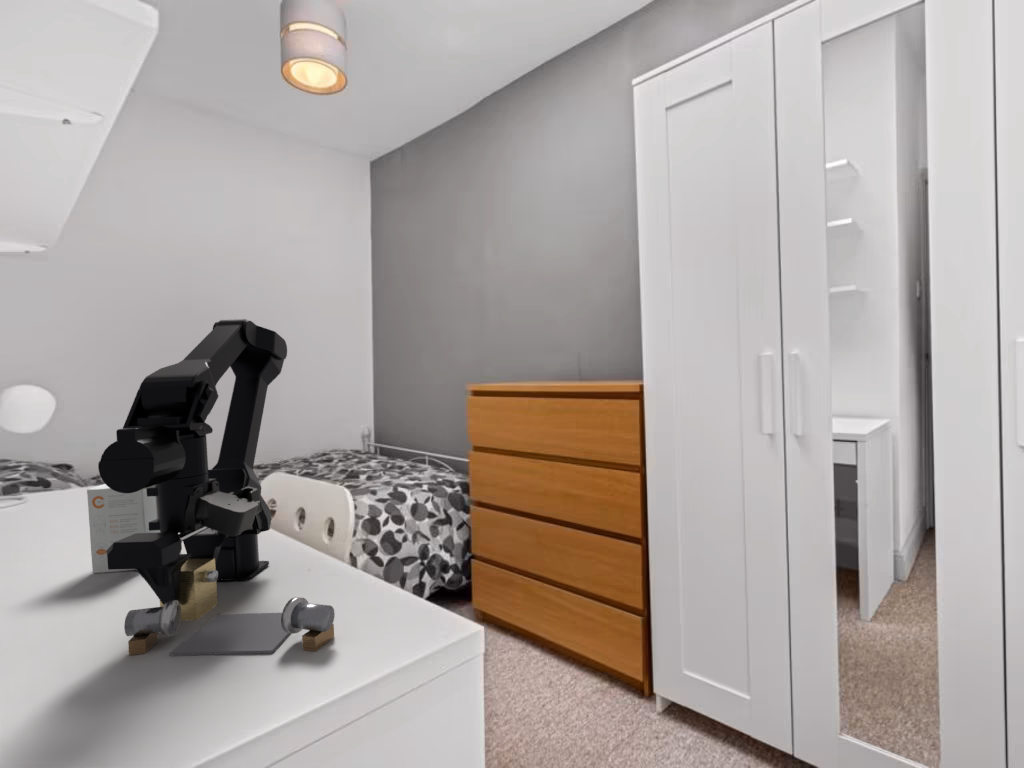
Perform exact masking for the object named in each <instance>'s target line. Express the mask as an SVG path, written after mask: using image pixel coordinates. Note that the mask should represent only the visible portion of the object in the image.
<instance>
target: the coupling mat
mask: <svg viewBox="0 0 1024 768" xmlns="http://www.w3.org/2000/svg"><path fill="white" fill-rule="evenodd" d="M281 616H282V612H260V613H259V612H257V613H256V612H255V613H253V612H252V613H251V612H250V613H219V614H217V615H216V616H214V617H213V618H212V619H210V620H209V621H208V622H206V623H205V624H204V625H203V626H202V627H200V628H198V630H197V631H195V632H194V633H193V634H191V635H190V636H189V637H187V638H185V640H183V642H180V644H179V645H178V646H175V648H173V649H172V650H171V651H169V656H199V655H200V656H203V655H204V656H205V655H206V656H207V655H210V656H211V655H247V654H248V655H252V654H253V655H255V654H273V653H274V652H275V651H276V650H277V649H278V648H279V647H280V646H281V645H282V643H283V642H284V641H285V640H286V639H287V638H288V636H290V635H291V633H287V632H285V631H284V630H283V628H282V625H281Z"/></svg>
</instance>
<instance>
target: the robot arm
mask: <svg viewBox="0 0 1024 768" xmlns="http://www.w3.org/2000/svg"><path fill="white" fill-rule="evenodd" d="M287 357H288V346H287V343H286V340H285V338H283V337H282V336H281V335H279V333H277V332H276V331H274V330H271V329H268V328H266V327H263V326H259V325H257V324H255V323H254V322H253V321H252V320H248V319H245V318H243V319H242V318H240V319H237V318H235V319H220V320H219V321H216V322H214V323H213V325H212V330H211V331H210V332H209V333H208V334H207V335H205V337H204V338H203V339H202V340H201V341H200V342H199V343H198V344H197V345H196V346H195V347H194V348H193V350H191V351H190V352H189V353H188V354H187V355H186V356H185V357H184V358H183V359H182V360H181V361H179V362H178V363H173V364H171V365H170V364H169V365H167V366H164V367H161V368H159V369H157V370H155V371H154V372H152V373H150V374H149V375H147V376H145V378H144V379H143V380H142V382H141V383H140V385H139V387H138V389H137V392H136V394H135V397H134V399H133V401H132V404H131V406H130V410H129V411H128V414H127V417H126V419H125V422H124V424H123V426H122V428H118V429H117V430H116V441H114V442H113V443H111V444H109V445H108V446H107V447H106V448H105V449H104V450H103V453H102V454H101V457H100V460H99V462H97V463H98V473H99V476H100V478H101V480H102V482H103V483H104V484H106V485H107V486H108V487H109V488H111V489H112V490H114V491H117V492H120V493H133V492H137V491H140V490H143V489H145V488H147V497H149V496H156V509H157V519H156V520H153V521H151V522H149V531H152V530H160V533H135V534H133V535H131V536H128V537H126V538H124V539H121V540H119V541H116V542H114V543H113V544H112V545H111V546H110V547H109V548H108V550H107V551H106V557H107V568H108V570H111V569H135V570H134V571H136V572H137V573H138V574H139V575H140V577H141V578H142V579H143V580H144V581H145V582H146V583H147V584H148V586H149V587H150V588H151V590H152V591H153V592H154V594H155V595H156V597H157V598H158V600H159V602H160V601H161V602H162V604H163V605H164V604H165V603H166V602H167V601H173V600H178V601H179V602H180V582H181V567H182V566H183V564H184V563H185V562H186V561H187V560H188V559H205V558H215V567H216V570H217V571H218V578H217V580H216V582H218V581H246V580H250V579H252V578H253V577H254V576H255V575H257V574H258V573H260V572H261V571H262V570H263V569H265V568H266V567H268V566H269V565H270V561H269V560H260V553H259V540H258V539H259V538H258V537H259V536H258V535H260V534H261V533H264V532H268V531H269V530H271V525H272V510H271V508H270V506H268V504H267V502H266V501H265V499H264V497H263V496H262V486H261V483H260V481H259V478H258V477H257V475H256V473H255V472H254V466H255V464H254V463H255V459H256V455H257V454H256V453H257V448H258V443H259V438H260V430H261V425H262V420H263V414H264V411H265V410H264V409H265V402H266V397H267V391H268V387H269V385H271V383H272V382H274V380H275V379H276V378H278V376H279V375H281V373H282V369H283V365H284V361H285V360H286V359H287ZM229 368H231V371H232V372H233V375H234V376H235V380H234V383H233V384H234V385H233V388H232V393H231V398H230V403H229V408H228V411H227V416H226V420H225V426H224V430H223V436H222V441H221V445H220V451H219V454H218V460H217V462H216V464H214V466H213V467H212V468H211V469H209V463H208V462H209V461H208V445H207V443H208V441H207V435H210V434H212V433H213V427H212V426H211V425H210V424H208V423H207V422H206V420H207V418H208V416H209V415H210V414H211V413H212V412H211V411H212V410H213V408H214V406H215V404H216V402H217V400H218V398H219V394H218V391H217V388H216V387H217V385H218V382H219V381H220V380H221V379H222V377H223V376H224V374H225V373H226V372H227V371H228V370H229ZM154 485H155V486H154ZM151 486H152V487H151ZM148 487H149V488H148ZM182 545H183V546H184V549H185V551H186V553H182V549H183V547H182Z"/></svg>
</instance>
